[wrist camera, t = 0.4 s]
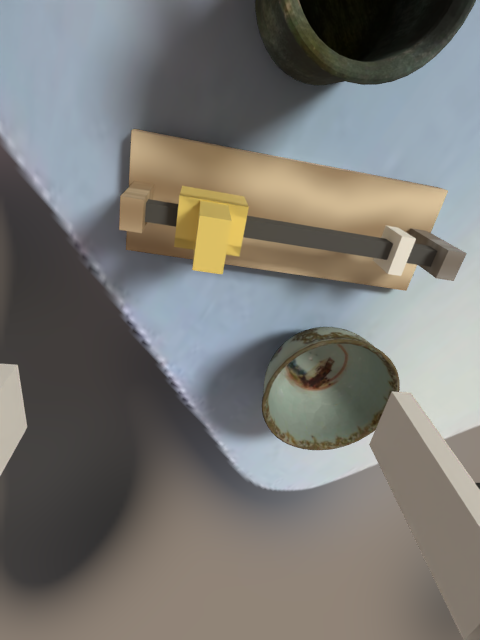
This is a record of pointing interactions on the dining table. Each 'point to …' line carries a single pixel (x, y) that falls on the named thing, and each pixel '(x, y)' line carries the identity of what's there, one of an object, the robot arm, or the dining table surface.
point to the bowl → (326, 389)
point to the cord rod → (302, 235)
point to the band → (396, 250)
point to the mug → (357, 36)
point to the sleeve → (210, 226)
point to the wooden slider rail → (283, 207)
